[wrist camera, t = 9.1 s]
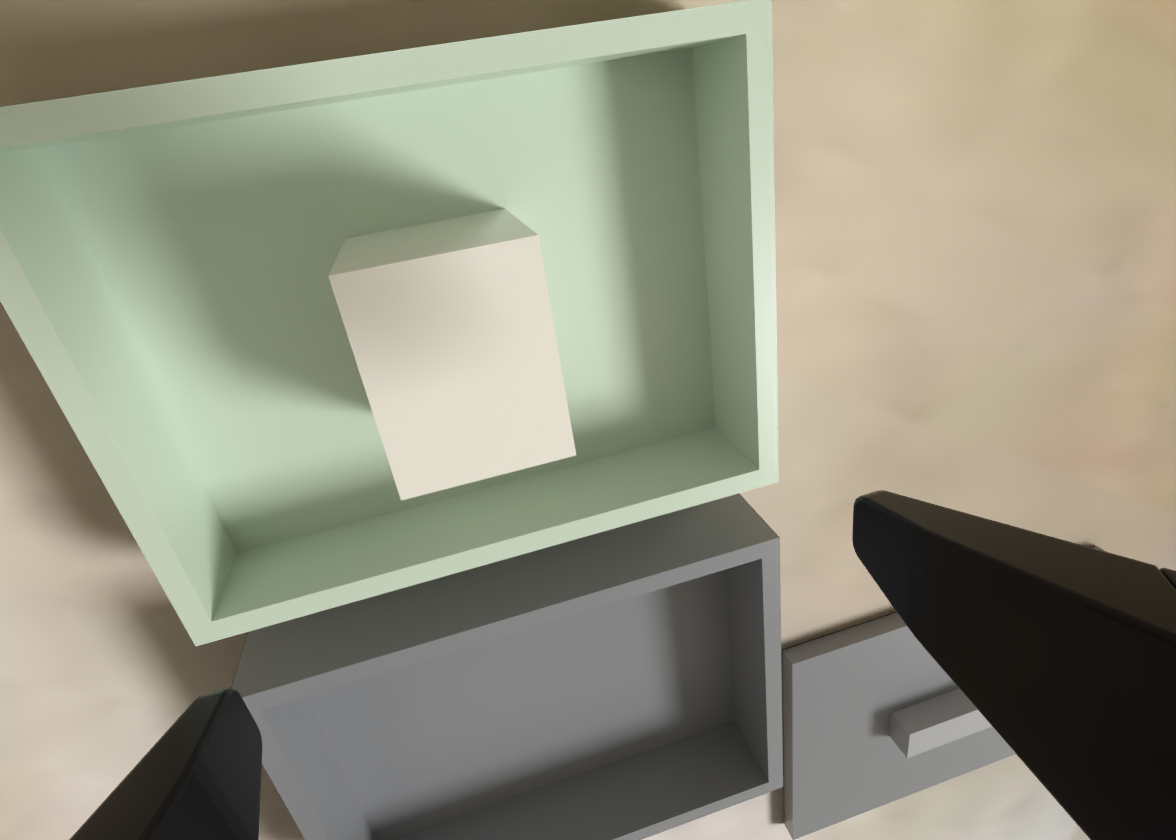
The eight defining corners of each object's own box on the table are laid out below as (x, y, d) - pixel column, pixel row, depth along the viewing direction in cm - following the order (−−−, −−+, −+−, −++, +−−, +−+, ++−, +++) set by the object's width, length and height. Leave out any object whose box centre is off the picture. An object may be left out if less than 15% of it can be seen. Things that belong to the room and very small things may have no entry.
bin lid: (784, 824, 32) (806, 864, 31) (782, 650, 27) (808, 686, 25) (1051, 722, 35) (1085, 754, 33) (1097, 546, 30) (1140, 572, 28)
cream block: (400, 418, 18) (400, 500, 14) (345, 237, 16) (328, 275, 12) (539, 385, 19) (576, 455, 15) (505, 208, 17) (538, 234, 13)
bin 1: (228, 562, 19) (195, 646, 16) (9, 122, 14) (-102, 121, 11) (725, 431, 22) (778, 482, 19) (702, 20, 17) (771, -4, 14)
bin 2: (367, 843, 25) (362, 942, 22) (253, 613, 20) (226, 702, 17) (741, 714, 28) (783, 786, 25) (728, 481, 23) (779, 537, 20)
